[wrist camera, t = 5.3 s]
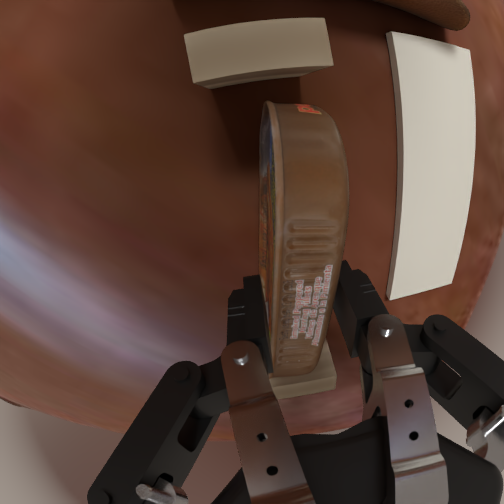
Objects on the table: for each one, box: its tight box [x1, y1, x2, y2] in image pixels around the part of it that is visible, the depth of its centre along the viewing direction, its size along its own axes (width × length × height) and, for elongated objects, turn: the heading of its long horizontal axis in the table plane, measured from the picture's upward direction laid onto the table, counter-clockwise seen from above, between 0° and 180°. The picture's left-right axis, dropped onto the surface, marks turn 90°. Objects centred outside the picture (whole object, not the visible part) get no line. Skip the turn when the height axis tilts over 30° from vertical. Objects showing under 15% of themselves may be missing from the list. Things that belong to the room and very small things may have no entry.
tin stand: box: [184, 18, 337, 399], centre depth 15 cm, size 22×5×6 cm, turn 9°
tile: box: [386, 32, 476, 300], centre depth 16 cm, size 20×7×1 cm, turn 9°
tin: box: [259, 101, 349, 379], centre depth 14 cm, size 15×3×8 cm, turn 0°
